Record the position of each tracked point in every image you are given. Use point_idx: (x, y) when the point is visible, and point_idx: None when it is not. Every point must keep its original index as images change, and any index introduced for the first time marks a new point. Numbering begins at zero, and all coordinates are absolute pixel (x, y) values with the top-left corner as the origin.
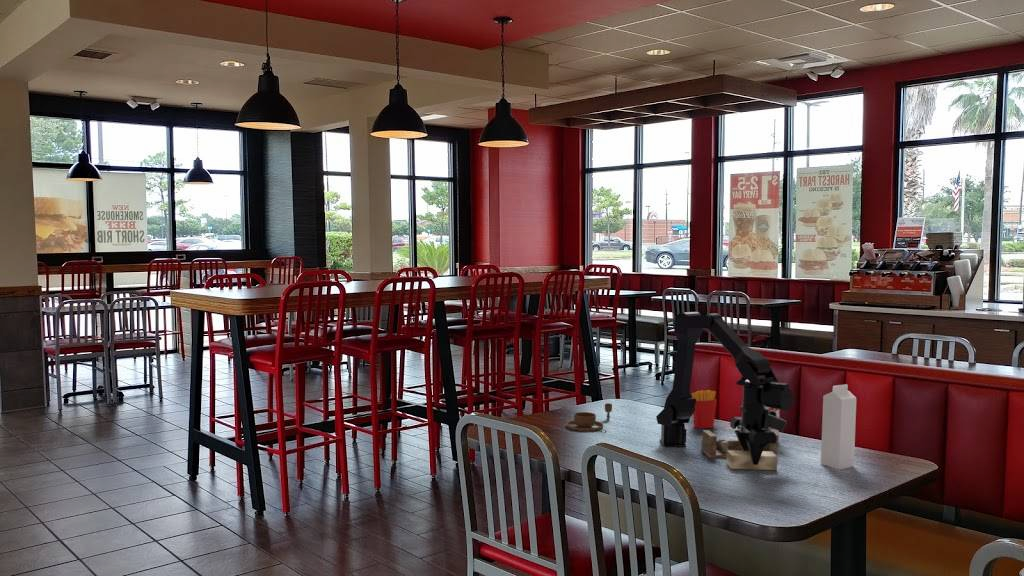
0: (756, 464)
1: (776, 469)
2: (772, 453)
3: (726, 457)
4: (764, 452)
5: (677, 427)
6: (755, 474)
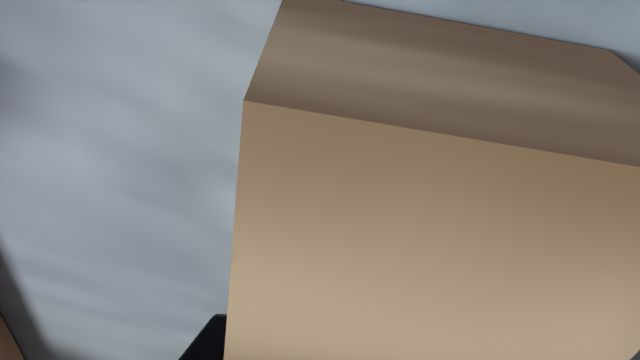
0: None
1: (610, 59)
2: (465, 182)
3: (18, 356)
4: (340, 301)
5: None
6: None
